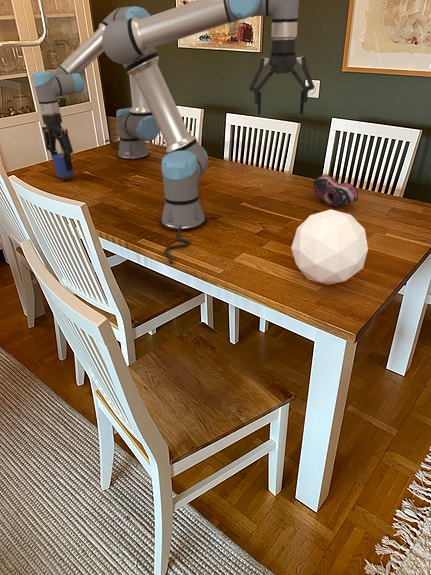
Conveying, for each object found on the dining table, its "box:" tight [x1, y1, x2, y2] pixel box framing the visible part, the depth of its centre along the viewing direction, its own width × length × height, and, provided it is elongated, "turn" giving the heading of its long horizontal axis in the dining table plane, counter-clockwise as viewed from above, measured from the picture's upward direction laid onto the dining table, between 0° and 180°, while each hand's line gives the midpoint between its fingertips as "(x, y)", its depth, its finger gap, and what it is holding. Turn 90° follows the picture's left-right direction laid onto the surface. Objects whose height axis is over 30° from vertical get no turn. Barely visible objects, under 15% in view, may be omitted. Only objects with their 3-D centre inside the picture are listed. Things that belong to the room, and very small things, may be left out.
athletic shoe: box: [311, 174, 359, 208], centre depth 165 cm, size 11×22×12 cm
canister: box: [51, 152, 74, 179], centre depth 194 cm, size 7×7×9 cm
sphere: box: [290, 208, 369, 286], centre depth 117 cm, size 19×20×20 cm
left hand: (63, 167), depth 194 cm, fingers closed on canister, 7 cm apart
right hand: (280, 113), depth 143 cm, fingers open, 13 cm apart
